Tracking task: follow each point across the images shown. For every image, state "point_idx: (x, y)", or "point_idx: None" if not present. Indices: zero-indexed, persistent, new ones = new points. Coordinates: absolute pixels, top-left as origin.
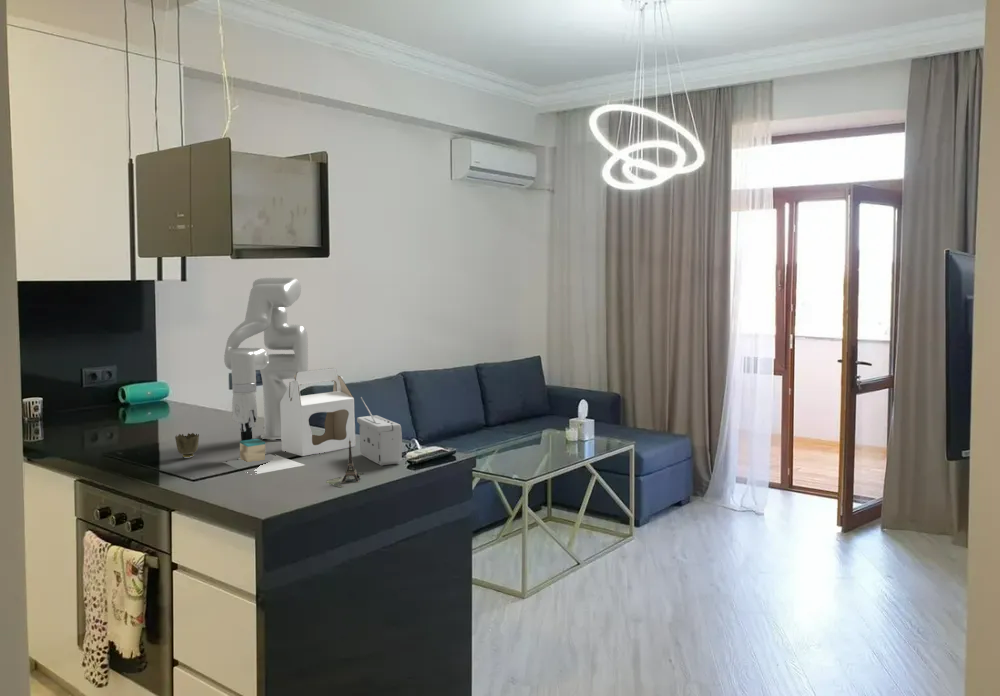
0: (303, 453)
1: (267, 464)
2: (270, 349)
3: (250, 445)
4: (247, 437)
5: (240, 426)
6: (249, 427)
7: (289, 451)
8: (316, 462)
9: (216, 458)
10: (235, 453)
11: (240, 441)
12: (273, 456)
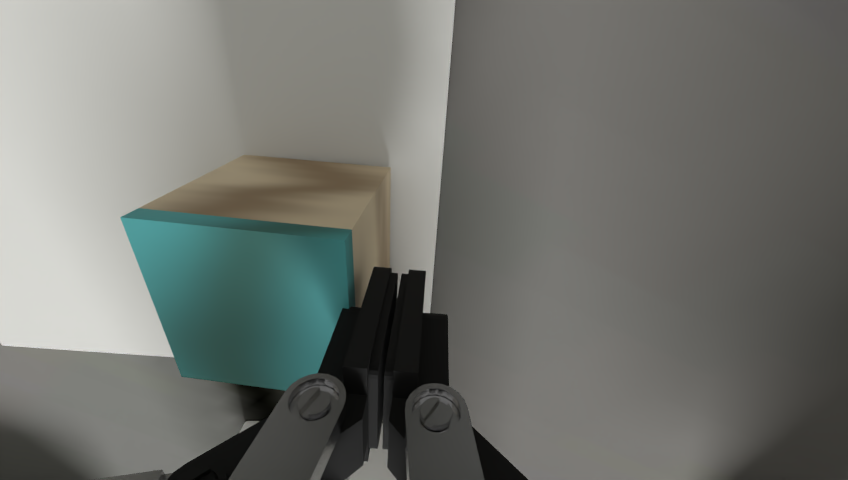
0: None
1: (113, 223)
2: None
3: (140, 242)
4: (333, 341)
5: (450, 459)
6: (129, 477)
7: None
8: (79, 400)
9: (657, 65)
10: (656, 258)
11: (326, 238)
12: None
